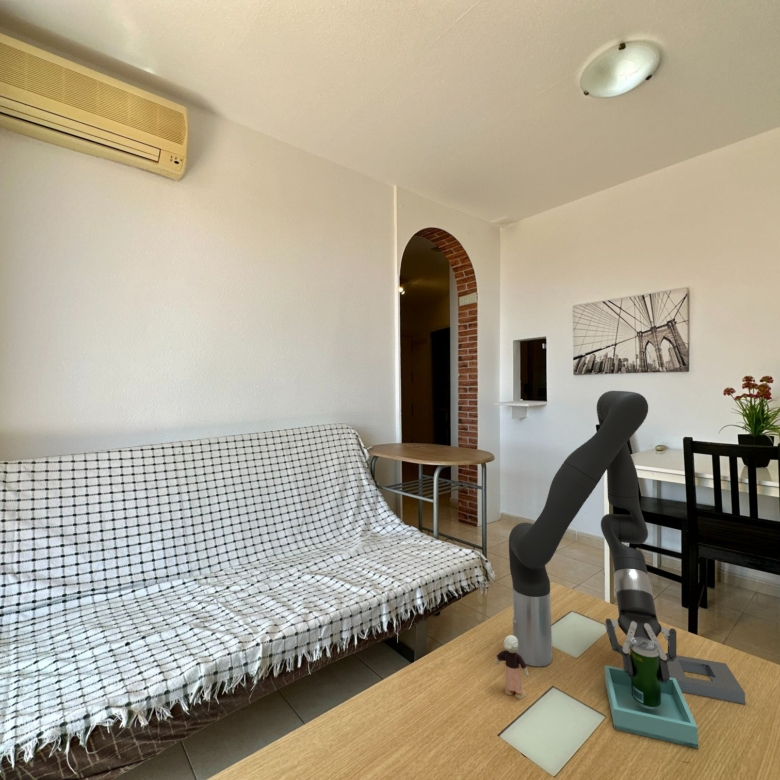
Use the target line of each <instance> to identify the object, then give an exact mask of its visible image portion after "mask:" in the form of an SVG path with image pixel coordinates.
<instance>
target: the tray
mask: <svg viewBox="0 0 780 780" xmlns="http://www.w3.org/2000/svg"><path fill="white" fill-rule="evenodd" d="M660 678H661V677H660ZM604 680H605V681H604V683H605V688H606V693H607V698H608V703H609V708H610V712H611V717H612V724H613V728H614V730H617V731H621V732H626V733H629V734H634V735H639V736H642V737H646V738H652V739H655V740H659V741H662V742H663V741H664V742H668V743H672V744H677V745H680V746H685V747H689V748H690V747H691V748H694V749H699V731H698V726H697V723H696V721H695V719H694V716H693V714H692V713H691V709H690V708H689V705H688V703H687V701H686V698H685V696H684V694H683V692H681V689H680V687H679V685H678V683H677V680H676V678H671V677H670V678H669V680H668V681H667V683H666V684H664V683H662V682H661V705H660V706H659V708H657V709H654V710H652V709H647V708H644V707H642V706H640V705H639V704H637V703H636V702H635V700H634V699H633V696H632V693H631V677H629V676H628V673H625V671H624V667H623V668H622V667H616V666H611V665H606V664H605V665H604Z"/></svg>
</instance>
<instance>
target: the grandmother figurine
mask: <svg viewBox="0 0 780 780" xmlns="http://www.w3.org/2000/svg"><path fill="white" fill-rule="evenodd" d="M518 644H519V643H518V639H517V638H516V637H515V636H513V634H509V635H507V636H506V637H505V639H504V641H503V643H502V646H503V648H504V649H505V650H501V651H500V652H499V653H498V654H497V655H496V658H495V660H494V663H495V664H496V665H499V664H501V663H500V662H505V664H504V681H505V682H504V683H505V691H504V693H505V695H507V696H513V694H514V697H515V698H516V699H518V700H522V699H523V698H525V697H526V695H527V694H526V691H525V690H524V689H523V682H522V681H523V680H522V672H523V675H524V676H525V677H526V678H528V677H530V673H529V671H528V666H527V664H525V662H524V661H523V659H522V657H521V656H520V655H519V654H517V653H516V651H517V649H518ZM521 670H522V671H521Z"/></svg>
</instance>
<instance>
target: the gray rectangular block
mask: <svg viewBox="0 0 780 780" xmlns="http://www.w3.org/2000/svg"><path fill="white" fill-rule="evenodd" d="M664 653H665V654H666V653H667V652H664ZM667 664H668V670H669V675H670V677H671V678H676V680H677V683H678V685H679V687H680V689H681V692H682V693H686V694H690V695H695V696H699V697H700V696H701V697H705V698H711V699H714V700H715V699H716V700H720V701H726V702H731V703H736V704H741V705H746V692H745V691H744V689H743V687H742V686H741V684H740V683H739V681H738V680H737V679H736V677H735V676H734V674H733V671H731V669H730V668H729V666H728V664H727V663H726V662H719V661H714V660H708V659H701V658H696V657H691V656H684V655H678V654H676V659H675V660H674V661H673V662H671V661H669V662H667ZM687 672H688V673H693V674H698V675H704V676H708V677H709V678H710V680H708V679H707V680H706V679H701V678H696V677H691V676H687V675H686V674H685V673H687Z"/></svg>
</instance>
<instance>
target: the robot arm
mask: <svg viewBox="0 0 780 780" xmlns="http://www.w3.org/2000/svg"><path fill="white" fill-rule="evenodd" d="M648 413H649V403H648V401H647V399H646V397H644V396H643V395H642V394H640V393H638V392H635V391H627V390H608V391H605V392H604V393H603V394H601V396H599V398H598V399H597V403H596V414H597V420H598V424H599V428H598V430H597V431H596V432H595V433H594V435H593V436H591V438H589V439H588V440H587V441H585V442H584V443H583V444H581V445H580V446H579V447H577V448H576V449H575V450H573V451H572V452H571V453H570V454H569V455H568V456H567V457H566V458H565V460H564V461H563V462H562V464H561V465H560V467H559V468H558V470H557V471H556V472H555V475H554V477H553V478H552V481H551V483H550V486H549V490H548V494H547V496H546V500H545V505H544V507H543V509H542V511H541V512H540V514H539V516H538V517H537V519H536V520H535V521H534V523H531V522H520V523H518V524H516V525H515V526H514V527H512V529H511V531H510V533H509V536H508V557H509V558H508V559H509V560H508V561H509V570H510V575H511V581H512V582H511V583H512V603H513V604H512V609H513V614H512V615H513V616H512V635H513V636H515V637H516V638H517V639H518V643H519V644H518V649H517V651H516V653H517V654H519V655H520V656H521V657H522V659H523V661H524V662H525V664H526V665H528V666H532V667H545V666H548V665H550V664H551V663H552V661H553V644H552V643H553V639H552V638H553V636H552V608H551V603H552V602H551V581H550V578H549V576H548V575H549V574H548V572H547V568H546V565H548V563H549V562H550V561H551V560H552V558H553V556H554V555H555V553H556V551H557V549H558V546H559V545H560V543H561V542H562V539H563V537H564V536H565V533H566V531H567V530H568V528H569V526H570V525H571V524H572V522H573V520H575V518H576V516H577V515H578V513H579V512H580V510H581V509H582V507H583V505H584V504H585V503H586V501H587V499H588V498H589V497H590V496H591V495H592V493H593V491H594V490H595V488H596V487H597V485H598V484H599V483H600V480H601V479H602V477H604V475H605V473H606V481H607V482H606V485H607V487H606V489H607V500H608V503H609V504H610V505H611V506H612V507H613V506H614V507H616V508H619V509H624V510H625V511H628V512H629V513H630V514H620V513H619V514H618V513H607V514H604V515H603V516H602V518H601V521H600V529H601V532H602V535H603V537H604V540H605V541H606V543H607V545H608V548H609V551H610V553H611V557H612V563H613V572H614V588H615V589H614V590H615V596H616V605H617V612H618V617H617V619H611V618H605V622H604V625H605V629H606V632H607V635H608V636H607V637H608V639H609V642H610V646H611V649H612V650H613V652H617V653H619V654H620V656H621V657H622V658H621V659H622V664H623V669H624V671H625V673H628V676H629V677H633V670H632V663H631V656H630V643H631V639H632V638H635V637H642V638H646V639H649V640H651V641H653V642H654V643H656V644H657V646H658V650H659V652H660V677H661V682H662V683H664V684H666V683H667V681H668V680H669V678H670V675H669V670H668V664H667V662H669V661H671V662H673V661H674V660H675V659H676V655H677V630H676V629H675V628H673V627H670V628H667V627H664V626H662V625H661V624H660V622H659V621H658V615H657V611H656V610H657V609H656V605H655V601H654V600H655V599H654V595H653V588H652V585H651V581H650V578H649V575H648V568H647V564H646V558H645V555H644V553H643V552H642V551H641V550H639V549H637V548H634V547H631V546H628V545H625V543H626V544H633V545H641V544H644V543H645V542H646V541H647V539H648V536H649V531H648V526H647V524H646V521H645V519H644V514H642V510H641V505H640V499H639V497H640V496H639V477H638V472H637V469H636V465H635V462H634V460H633V458H632V457H633V456H632V455H631V451H630V449H629V445H628V442H629V440H630V439H631V438H632V436H634V434H635V433H636V432H637V430H639V428H640V427H641V426H642V424H643V423H644V422H645V420H646V418H647V415H648ZM617 627H619V628H620V629H621V631H622V632H623V633H624V635H625V639H624V643H623V645H621V644H619V641H618V638H617V634H616V631H617ZM660 633H661V634H663V638H664V639H665V640H666V641H667V652H665V651H664V649H663V647H662V645H661V643H660V641H659V639H658V636H659V635H660ZM665 653H666V654H665Z"/></svg>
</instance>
